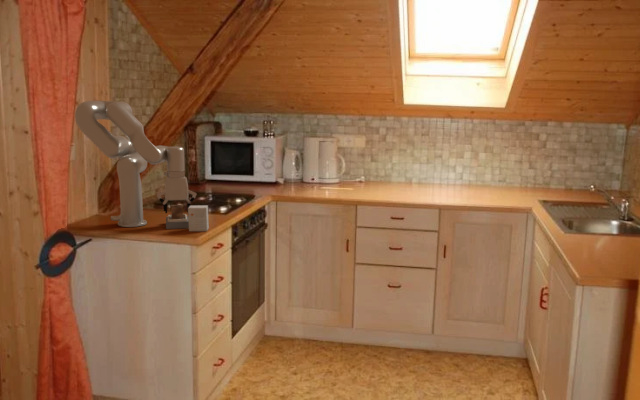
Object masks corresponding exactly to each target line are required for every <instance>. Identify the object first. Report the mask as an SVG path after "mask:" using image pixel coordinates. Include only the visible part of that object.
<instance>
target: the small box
mask: <svg viewBox="0 0 640 400" xmlns="http://www.w3.org/2000/svg"><path fill="white" fill-rule="evenodd" d="M187 216H188V221H189V228H188V231H189V232H208V230H209V229H210V226H209V205H199V204H198V205H191V206H189V208H188V212H187Z"/></svg>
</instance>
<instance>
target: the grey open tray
mask: <svg viewBox="0 0 640 400" xmlns="http://www.w3.org/2000/svg"><path fill="white" fill-rule="evenodd" d="M167 215H168V216H165V217H166V218H165V230H174V229H176V230H177V229H178V230H179V229H182V230H183V229H189V221H188V213H187V214H186V213H183V219H172V216H171V214H167Z"/></svg>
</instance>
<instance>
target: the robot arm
mask: <svg viewBox="0 0 640 400" xmlns="http://www.w3.org/2000/svg"><path fill="white" fill-rule="evenodd" d="M74 119H75V122H76V123H75V124H76V125H77V127H78V129H79V130H80V132H82V133H83V135H85V136H86V138H88V139H89V140H90V141H91V143H92V144H93V145H95V146H96V147H97V148H98V149H99V150H100V152H102V153H103V155H104V156H106V157H107V158H109V159H116V158H118V161H117V163H116V172H117V176H118V184H119V201H120V214H119V215H111V216H110V221H113V222H117V226H119V227H123V228H135V227H143V226H145V225H147V223H148V221H147V220H146V219H144V209H143V208H144V207H143V205H144V204H143V185H142V179H141V175H140V173H143V172H144V171H146V169H147V167H148V163H149V164H150V165H159V164H161V163H164V162H166V169H167V171H164V172H163V175H164V176H167V177H165V182H164V189H163V190H162V191H161V192H158V193H157V194H156V197H157V199H158V200H159V202H160V203H162V204H163V212H165V213H164V214H168V201H170V202H174V201H186V202H187V204H186V207H187V213H188V208H189V206H192V205H191V204H192V203H193V202H194V201H195V198H196V197H197V194H198V193H197V192H195V191H192V190H190V189H189V184H188V178H187V176H185V175H186V174H185V173H186V172H185V171H186V170H185V168H186V167H185V149H184V147H183V146H168V145H161V144H160V145H154V144H153V143H152V142H151V141H150V140H149V139H148V137H147V135H146V134H145V131H144V129H145V128H144V125H143V123H142V122H140V120H138V118H136V116H135V115H134V114H133V109H132V106H131V105H130V104H129V103H127V102H125V101H112V100H87V101H82V102H81V103H80V104H78V106H77V107H76V108H75V112H74ZM98 120H108V121H111V123H113V124H114V125H115V126H116V127H117V128H118V130H120V131H121V132H122V134H124V135H125V136H126V137H125V136H123V135H114V134H112V133H111V131H109V129H107V127H106V126H105V125H103V124H102V123H100V121H98ZM163 195H164V198H165V199H163V198H162V196H163ZM189 195H192V197H191V198H189Z"/></svg>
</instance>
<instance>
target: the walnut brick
mask: <svg viewBox="0 0 640 400" xmlns="http://www.w3.org/2000/svg"><path fill="white" fill-rule="evenodd" d="M170 207H171V212H170V213H171V214H170V215H171V216H172V219H183V214H184V206H183V204H170Z"/></svg>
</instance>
